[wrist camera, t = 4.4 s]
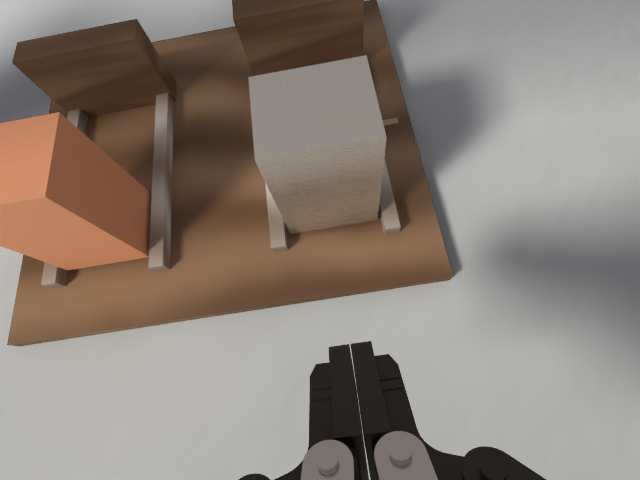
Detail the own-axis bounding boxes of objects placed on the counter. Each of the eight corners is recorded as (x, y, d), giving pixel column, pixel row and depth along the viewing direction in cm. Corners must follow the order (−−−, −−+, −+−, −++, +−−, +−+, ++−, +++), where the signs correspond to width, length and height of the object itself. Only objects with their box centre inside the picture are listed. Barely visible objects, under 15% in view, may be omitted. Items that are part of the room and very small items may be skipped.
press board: (449, 279, 24) (483, 243, 17) (20, 346, 25) (-98, 335, 19) (375, 9, 33) (379, -80, 27) (66, 68, 35) (-1, -3, 28)
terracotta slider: (149, 257, 25) (44, 196, 17) (67, 270, 26) (-76, 217, 17) (152, 194, 27) (59, 112, 19) (75, 207, 27) (-50, 132, 19)
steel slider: (377, 219, 24) (386, 137, 16) (290, 234, 25) (254, 160, 16) (364, 158, 26) (366, 55, 18) (283, 171, 27) (248, 77, 18)
